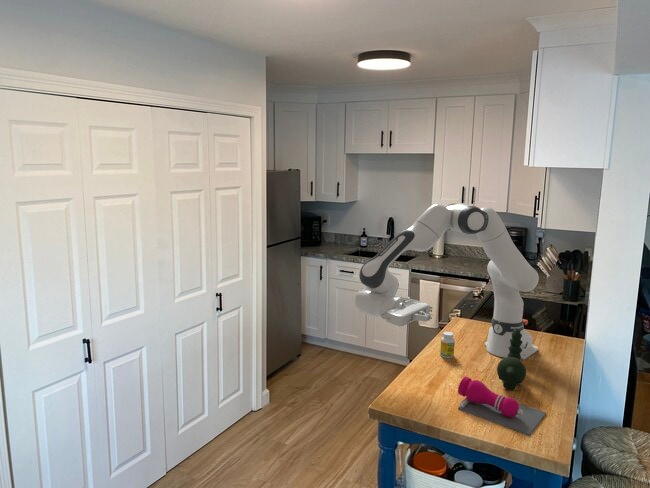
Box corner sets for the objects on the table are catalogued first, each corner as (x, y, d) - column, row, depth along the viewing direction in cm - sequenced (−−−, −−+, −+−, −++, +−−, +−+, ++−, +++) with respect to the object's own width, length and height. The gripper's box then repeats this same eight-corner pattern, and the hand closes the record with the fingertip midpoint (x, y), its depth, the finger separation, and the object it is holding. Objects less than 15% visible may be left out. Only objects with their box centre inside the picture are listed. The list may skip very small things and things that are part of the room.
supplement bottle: (446, 352, 197) (447, 330, 195) (456, 356, 192) (458, 334, 190) (437, 354, 194) (438, 332, 192) (447, 359, 189) (448, 336, 187)
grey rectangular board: (458, 409, 152) (458, 407, 152) (478, 391, 164) (478, 389, 164) (529, 435, 138) (529, 434, 138) (545, 414, 150) (546, 412, 150)
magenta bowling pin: (468, 384, 161) (527, 412, 148) (457, 400, 157) (517, 429, 144) (467, 370, 157) (528, 397, 144) (456, 385, 153) (517, 415, 140)
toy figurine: (499, 371, 184) (493, 393, 161) (504, 323, 182) (498, 339, 159) (526, 376, 180) (522, 400, 157) (531, 327, 178) (528, 344, 155)
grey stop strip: (459, 408, 152) (459, 402, 152) (477, 392, 163) (477, 387, 163) (462, 409, 152) (463, 404, 151) (480, 393, 162) (480, 388, 162)
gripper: (378, 307, 164) (414, 316, 155) (409, 295, 179) (442, 303, 170) (377, 324, 165) (412, 335, 156) (408, 311, 180) (441, 320, 172)
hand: (428, 318), depth 163 cm, fingers closed
